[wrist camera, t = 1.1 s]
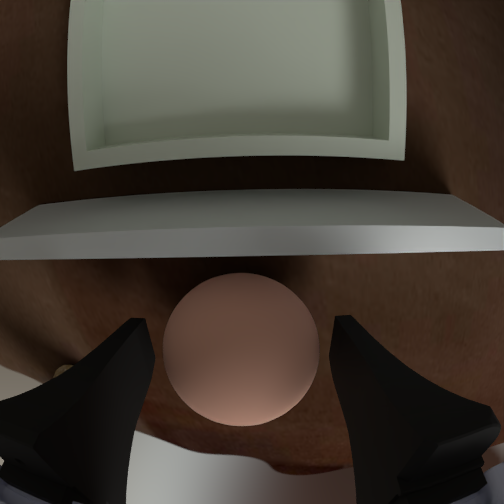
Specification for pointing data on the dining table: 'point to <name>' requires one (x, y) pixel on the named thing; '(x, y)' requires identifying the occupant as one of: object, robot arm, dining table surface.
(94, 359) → the robot arm
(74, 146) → the tray
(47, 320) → the dining table surface
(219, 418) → the ball
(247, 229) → the acrylic wall
